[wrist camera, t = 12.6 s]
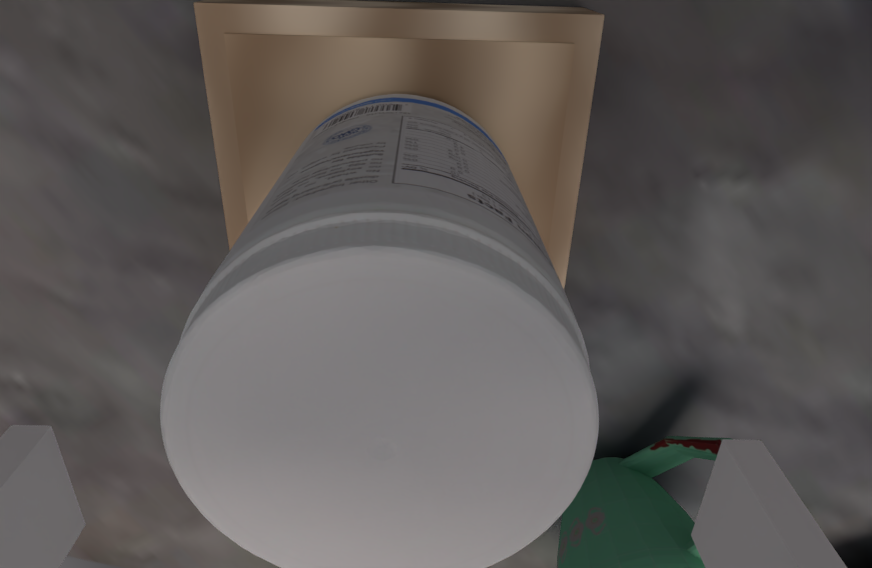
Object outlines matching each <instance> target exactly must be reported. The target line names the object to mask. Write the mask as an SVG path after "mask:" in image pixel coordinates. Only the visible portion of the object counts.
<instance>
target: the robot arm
mask: <svg viewBox="0 0 872 568" xmlns="http://www.w3.org/2000/svg"><path fill="white" fill-rule="evenodd" d="M85 525H86V524H85V521H84V518H83V515H82V513H81V510H80V507H79V504H78V501H77V498H76V495H75V492H74V490H73V487H72V484H71V481H70V478H69V475H68V472H67V470H66V467H65V464H64V461H63V458H62V455H61V452H60V449H59V447H58V444H57V441H56V438H55V435H54V432H53V429H52V427H51V426H32V425H11V426H10V427H9V428H8V429H7V430H6V432H5V433H4V434H3V435H2V436H1V437H0V568H59V567H60V566H61V564H62V562H63V561H64V559H65V558H66V556H67V554H68V553H69V551H70V549H71V548H72V546H73V545H74V543H75V541H76V540H77V538H78V536H79V535H80V533H81V531H82V530H83V528H84V527H85ZM691 537H692V539H693V541H694V543H695V546H696V548H697V550H698V552H699V555H700V557H701V559H702V561H703V564H704V566H705V568H847V567H846V565H845V564H844V562H843V561H842V559H841V558H840V556H839V555H838V553H837V552H836V550H835V549H834V548H833V546H832V545H831V543H830V542H829V540H828V539H827V537H826V536H825V534H824V533H823V531H822V530H821V528H820V527H819V525H818V524H817V522H816V521H815V519H814V518H813V516H812V515H811V513H810V512H809V511H808V509H807V508H806V506H805V505H804V503H803V502H802V500H801V499H800V497H799V496H798V494H797V493H796V491H795V490H794V488H793V487H792V485H791V484H790V482H789V481H788V479H787V478H786V476H785V475H784V474H783V472H782V471H781V469H780V468H779V466H778V465H777V463H776V462H775V460H774V459H773V457H772V456H771V454H770V453H769V451H768V450H767V448H766V447H765V445H764V444H763V442H762V441H761V440H731V439H722V442H721V445H720V448H719V451H718V454H717V457H716V461H715V464H714V467H713V470H712V473H711V476H710V479H709V482H708V485H707V488H706V491H705V494H704V497H703V500H702V503H701V506H700V509H699V512H698V515H697V518H696V521H695V524H694V527H693V530H692V533H691Z"/></svg>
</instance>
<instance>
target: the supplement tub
mask: <svg viewBox="0 0 872 568" xmlns="http://www.w3.org/2000/svg"><path fill="white" fill-rule="evenodd" d="M160 421H161V431H162V437H163V443H164V447H165V450H166V454H167V457H168V460H169V463H170V465H171V467H172V469H173V471H174V473H175V475H176V477H177V480H178V482H179V484H180V485H181V487H182V488H183V490H184V491H185V493H186V494H187V496H188V497H189V499H190V500H191V501H192V502H193V504H194V505H195V506H196V507H197V509H198V510H199V511H200V512H201V513H202V515H203V516H204V517H205V518H206V519H207V520H208V521H209V522H210V523H211V524H212V525H213V526H214V527H215V528H217V529H218V530H219V531H221V532H222V533H223V534H225V535H226V536H227V537H229V538H230V539H231V540H233V541H234V542H235V543H237V544H238V545H239V546H241V547H242V548H244V549H246V550H247V551H249V552H251V553H252V554H254V555H256V556H258V557H260V558H262V559H264V560H266V561H268V562H270V563H273V564H275V565H277V566H279V567H281V568H486V567H489V566H491V565H493V564H495V563H497V562H499V561H501V560H503V559H505V558H507V557H509V556H511V555H513V554H515V553H516V552H518V551H519V550H521V549H522V548H524V547H525V546H527V545H528V544H530V543H531V542H532V541H534V540H535V539H536V538H537V537H539V536H540V535H541V534H542V533H544V532H545V531H546V530H547V529H548V528H549V527H550V526H551V525H552V524H553V523H554V522H555V521H556V520H557V519H558V518H559V517H560V516H561V515H562V514H563V512H564V511H565V510H566V509H567V507H568V506H569V505H570V504H571V502H572V501H573V499H574V498H575V496H576V495H577V493H578V491H579V490H580V488H581V486H582V484H583V482H584V480H585V478H586V476H587V474H588V472H589V469H590V467H591V464H592V461H593V458H594V454H595V450H596V445H597V439H598V432H599V412H598V401H597V393H596V389H595V385H594V382H593V378H592V375H591V371H590V365H589V359H588V354H587V350H586V346H585V342H584V339H583V336H582V333H581V331H580V328H579V326H578V324H577V321H576V318H575V316H574V313H573V311H572V308H571V306H570V304H569V302H568V299H567V296H566V294H565V292H564V289H563V287H562V285H561V282H560V279H559V277H558V275H557V273H556V271H555V269H554V266H553V264H552V262H551V260H550V257H549V255H548V253H547V251H546V248H545V246H544V244H543V241H542V239H541V237H540V235H539V232H538V230H537V228H536V225H535V223H534V221H533V219H532V216H531V214H530V212H529V210H528V208H527V205H526V203H525V201H524V199H523V196H522V194H521V192H520V189H519V187H518V185H517V183H516V181H515V178H514V176H513V174H512V172H511V170H510V168H509V165H508V163H507V161H506V159H505V157H504V155H503V153H502V152H501V150H500V148H499V147H498V145H497V144H496V143H495V141H494V140H493V139H492V137H491V136H490V135H489V134H488V133H487V131H486V130H485V129H484V128H483V127H481V126H480V125H479V124H478V123H477V122H476V121H474V120H473V119H472V118H471V117H469V116H468V115H466V114H465V113H463V112H462V111H460V110H458V109H456V108H455V107H453V106H450V105H448V104H446V103H443V102H441V101H438V100H435V99H431V98H427V97H422V96H417V95H409V94H387V95H379V96H374V97H370V98H366V99H362V100H359V101H356V102H354V103H351V104H349V105H347V106H345V107H343V108H341V109H339V110H337V111H336V112H334V113H333V114H331V115H330V116H328V117H327V118H326V119H324V120H323V121H322V122H321V123H320V124H319V125H318V126H317V127H316V128H315V129H314V130H313V131H312V132H311V133H310V134H309V135H308V136H307V137H306V139H305V140H304V141H303V143H302V144H301V146H300V147H299V149H298V150H297V152H296V153H295V155H294V156H293V157H292V159H291V160H290V162H289V164H288V165H287V167H286V168H285V170H284V171H283V173H282V174H281V176H280V177H279V179H278V180H277V182H276V183H275V184H274V186H273V187H272V189H271V190H270V192H269V193H268V195H267V196H266V198H265V199H264V201H263V202H262V204H261V205H260V207H259V208H258V210H257V211H256V213H255V214H254V215H253V217H252V218H251V220H250V221H249V223H248V224H247V226H246V227H245V229H244V230H243V232H242V233H241V235H240V236H239V238H238V239H237V241H236V242H235V244H234V245H233V247H232V248H231V250H230V251H229V253H228V254H227V256H226V257H225V259H224V260H223V262H222V263H221V265H220V266H219V268H218V269H217V271H216V272H215V274H214V275H213V277H212V278H211V280H210V281H209V283H208V284H207V286H206V288H205V289H204V291H203V293H202V294H201V296H200V298H199V300H198V301H197V303H196V305H195V306H194V308H193V310H192V312H191V314H190V316H189V318H188V319H187V322H186V325H185V327H184V330H183V333H182V336H181V339H180V342H179V344H178V346H177V348H176V350H175V352H174V354H173V356H172V358H171V360H170V363H169V366H168V368H167V371H166V374H165V378H164V382H163V387H162V393H161V406H160Z"/></svg>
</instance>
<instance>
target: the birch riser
mask: <svg viewBox="0 0 872 568" xmlns="http://www.w3.org/2000/svg"><path fill="white" fill-rule="evenodd" d="M194 10H195V17H196V24H197V30H198V37H199V44H200V51H201V58H202V65H203V71H204V78H205V85H206V92H207V99H208V106H209V113H210V119H211V126H212V133H213V140H214V147H215V154H216V160H217V167H218V174H219V181H220V188H221V195H222V201H223V208H224V215H225V222H226V229H227V236H228V243H229V249H230V250H231V248H232V247H233V245H234V244H235V242H236V241H237V239H238V238H239V236H240V235H241V233H242V232H243V230H244V229H245V227H246V226H247V224H248V223H249V221H250V220H251V218H252V217H253V215H254V214H255V213H256V211H257V210H258V208H259V207H260V205H261V204H262V202H263V201H264V199H265V198H266V196H267V195H268V193H269V192H270V190H271V189H272V187H273V186H274V184H275V183H276V182H277V180H278V179H279V177H280V176H281V174H282V173H283V171H284V170H285V168H286V167H287V165H288V164H289V162H290V160H291V159H292V157H293V156H294V155H295V153H296V152H297V150H298V149H299V147H300V146H301V144H302V143H303V141H304V140H305V139H306V137H307V136H308V135H309V134H310V133H311V132H312V131H313V130H314V129H315V128H316V127H317V126H318V125H319V124H320V123H321V122H322V121H323V120H324V119H326V118H327V117H328V116H330V115H331V114H333V113H334V112H336V111H337V110H339V109H341V108H343V107H345V106H347V105H349V104H351V103H354V102H356V101H359V100H362V99H366V98H370V97H374V96H379V95H387V94H409V95H417V96H422V97H427V98H431V99H435V100H438V101H441V102H443V103H446V104H448V105H450V106H453V107H455V108H456V109H458V110H460V111H462V112H463V113H465V114H466V115H468V116H469V117H471V118H472V119H473V120H474V121H476V122H477V123H478V124H479V125H480V126H481V127H483V128H484V129H485V130H486V131H487V133H488V134H489V135H490V136H491V137H492V139H493V140H494V141H495V143H496V144H497V145H498V147H499V148H500V150H501V152H502V153H503V155H504V157H505V159H506V161H507V163H508V165H509V168H510V170H511V172H512V174H513V176H514V178H515V181H516V183H517V185H518V187H519V189H520V192H521V194H522V196H523V199H524V201H525V203H526V205H527V208H528V210H529V212H530V214H531V216H532V219H533V221H534V223H535V225H536V228H537V230H538V232H539V235H540V237H541V239H542V241H543V244H544V246H545V248H546V251H547V253H548V255H549V257H550V260H551V262H552V264H553V266H554V269H555V271H556V273H557V275H558V277H559V279H560V282H561V285H562V287H563V289H564V287H565V280H566V273H567V267H568V260H569V253H570V246H571V240H572V233H573V226H574V219H575V213H576V206H577V199H578V192H579V186H580V179H581V172H582V165H583V159H584V152H585V145H586V138H587V131H588V125H589V118H590V111H591V104H592V98H593V91H594V84H595V77H596V71H597V64H598V57H599V50H600V44H601V37H602V30H603V23H604V17H605V15H603V14H600V13H598V12H595V11H592V10H589V9H586V8H583V7H553V6H521V5H488V4H456V3H423V2H391V1H358V0H203V1H198V2H194Z"/></svg>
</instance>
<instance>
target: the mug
mask: <svg viewBox="0 0 872 568" xmlns="http://www.w3.org/2000/svg"><path fill="white" fill-rule="evenodd" d="M722 439H730V438H703V437H681V436H667V437H665V438H663V439H661V440H660V441H658V442H656V443H654V444H652V445H650V446H648V447H646V448H644V449H642V450H640V451H638V452H636V453H634V454H632V455H631V456H629V457H627V458H625V459H623V458H618V457H604V458H600V459H596V460H593V461H592V464H591V467H590V469H589V472H588V474H587V476H586V478H585V480H584V482H583V484H582V486H581V488H580V490H579V491H578V493H577V495H576V496H575V498H574V499H573V501H572V502H571V504H570V505H569V506H568V507H567V509H566V510H565V511H564V512H563V514H562V521H561V530H560V539H559V547H558V556H557V568H705V566H704V564H703V561H702V559H701V557H700V555H699V552H698V550H697V548H696V546H695V543H694V541H693V539H692V537H691V533H692V530H693V527H694V524H695V523H694V522H693V520H692V519H691V518H690V517H689V515H688V514H687V513H686V512H685V511H684V510H683V509H682V508H681V507H680V505H679V504H678V503H677V502H676V501H675V500H674V499H673V498H672V497H671V496H670V495H669V494H668V493H667V492H666V491H665V490H664V489H663V488H662V487H661V486H660V485H659V484H658V483H657V482H656V481H655V480H653V479H652V477H654V476H657V475H659V474H661V473H663V472H665V471H667V470H669V469H671V468H673V467H676V466H678V465H680V464H682V463H684V462H686V461H688V460H690V459H692V458H702V459H708V460H715V461H716V457H717V454H718V451H719V448H720V445H721V442H722ZM731 440H733V439H731Z"/></svg>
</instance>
